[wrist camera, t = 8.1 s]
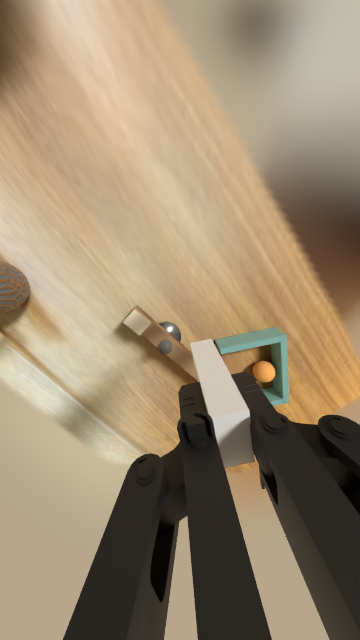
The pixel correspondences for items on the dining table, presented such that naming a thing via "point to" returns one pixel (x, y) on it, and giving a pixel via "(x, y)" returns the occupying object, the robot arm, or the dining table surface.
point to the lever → (160, 339)
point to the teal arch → (278, 358)
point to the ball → (264, 371)
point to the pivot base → (171, 330)
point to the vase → (12, 287)
